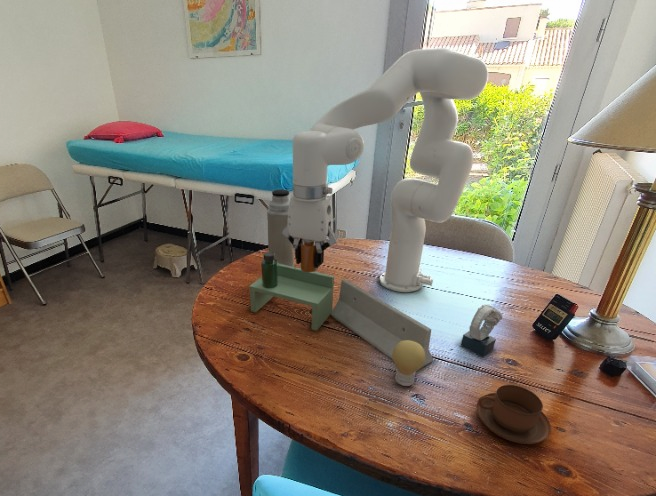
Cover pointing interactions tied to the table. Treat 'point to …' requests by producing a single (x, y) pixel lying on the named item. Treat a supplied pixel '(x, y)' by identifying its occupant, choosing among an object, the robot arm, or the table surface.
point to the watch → (482, 331)
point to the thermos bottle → (279, 228)
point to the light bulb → (407, 361)
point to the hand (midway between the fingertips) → (309, 263)
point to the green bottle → (269, 270)
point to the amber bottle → (308, 255)
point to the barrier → (378, 321)
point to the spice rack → (298, 291)
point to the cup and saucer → (514, 415)
